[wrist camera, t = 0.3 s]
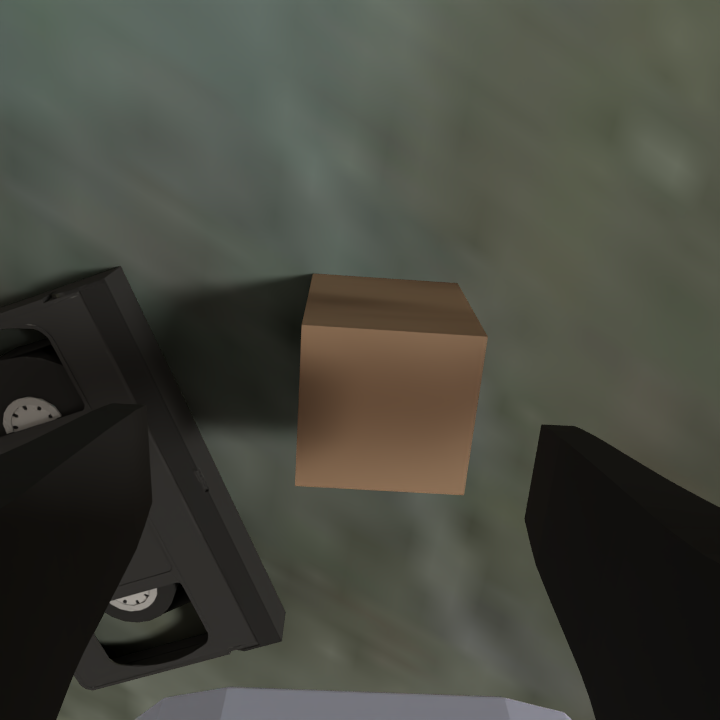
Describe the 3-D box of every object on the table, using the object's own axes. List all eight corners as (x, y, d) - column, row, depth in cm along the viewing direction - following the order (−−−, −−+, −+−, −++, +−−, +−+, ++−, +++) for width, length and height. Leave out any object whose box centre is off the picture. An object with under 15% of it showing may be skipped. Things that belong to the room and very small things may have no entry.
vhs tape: (-94, 337, 22) (-136, 360, 20) (126, 262, 21) (103, 278, 19) (103, 652, 27) (84, 693, 25) (286, 602, 26) (281, 641, 24)
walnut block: (440, 412, 22) (464, 495, 18) (306, 404, 22) (295, 485, 17) (456, 282, 21) (487, 336, 16) (313, 273, 20) (301, 324, 16)
